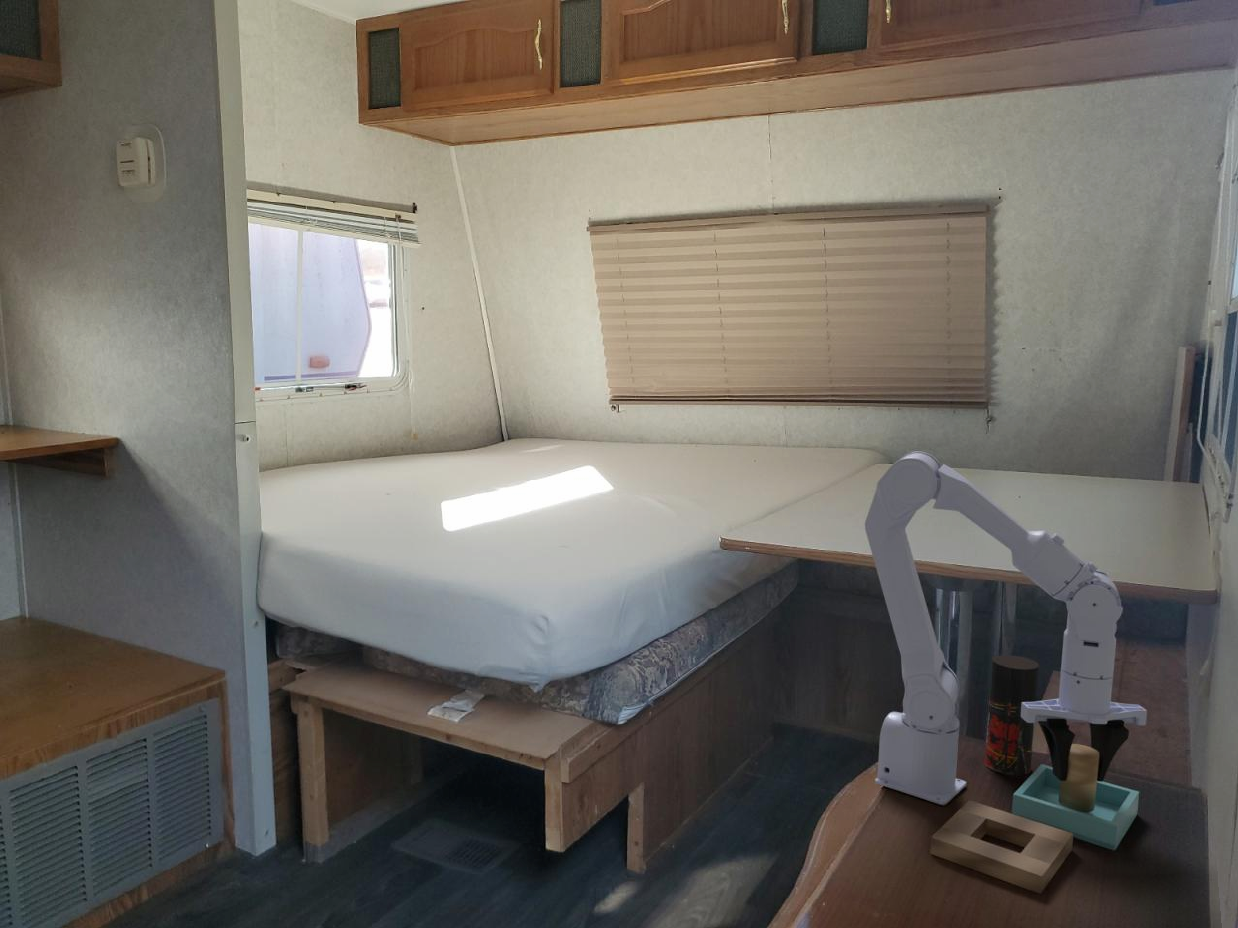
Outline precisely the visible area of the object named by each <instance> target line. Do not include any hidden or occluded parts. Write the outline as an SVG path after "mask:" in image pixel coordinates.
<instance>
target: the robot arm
mask: <svg viewBox="0 0 1238 928" xmlns="http://www.w3.org/2000/svg"><path fill="white" fill-rule="evenodd" d="M931 500H935V502H934V504H933V506H932V509H936V510H945V511H954V512H955V511H956V512H959V513H960V514H961V515H963V517H966V518H967V519H968V520H969V521H971V522H972V523H973V524H975V525H976V526H977V527H978V528H979V527H980V528H981V530H983V531H984V532H986V533H987V534H989V535H990V536H991V537H992V538H993V539H995V540H996V541H998V542H999V543H1000V544H1002V545H1003V546H1005V547H1006V548H1007V549H1008V550H1009V551H1010V552H1011V562H1012V565H1013V567H1015V568H1016V569H1017V570H1018V571H1019V572H1021V573H1022V574H1023V575H1025V576H1026V577H1027V579H1030V580H1031V581H1032V582H1033V583H1034V584H1035V585H1037V586H1038V587H1040V589H1042V590H1043V591H1044V592H1045V593H1047V594H1048V595H1049V596H1050V597H1052V598H1053V599H1054V600H1057V601H1062V602H1063V603H1065V604H1066V610H1067V619H1066V620H1067V621H1066V629H1065V630H1064V631H1063V641H1062V642H1063V643H1062V652H1061V653H1062V654H1061V664H1060V665H1061V667H1060V676H1059V677H1060V678H1059V691H1058V698H1053V699H1045V700H1036V702H1022V704H1021V717H1022V718H1023V719H1024V720H1025V721H1026V722H1027V723H1034V724H1035V723H1036V722H1037V723H1038V725H1039V727H1040V729H1041V731H1042V734H1043V736H1044V739H1045V741H1046V746H1047V748H1048V751H1049V752H1048V753H1049V756H1050V760H1051V767H1052V768H1053V774H1054V775H1055V776H1056V777H1057V778H1058V779H1059V780H1060V781H1066V778H1067V774H1068V760H1069V754H1070V749H1071V745H1072V744H1073V742H1074V739H1075V736H1076V735H1075V733H1074V732H1073V731H1072V730H1070V729H1069V728H1070V725H1069V724H1067V723H1068V722H1069V723H1070V722H1072V723H1073V722H1074V723H1089V729H1090V747H1091V748H1093V749H1095V750H1097V751H1098V752H1099V765H1098V775H1097V781H1098V782H1104V779H1105V777H1106V775H1107V772H1108V770H1109V767H1110V765H1111V763H1112V761H1113V759H1114V757H1115V756H1116V754H1117V753H1118V751H1119V749H1120V748H1121V747H1122V746H1123V745H1124V744H1125V742H1126V741H1127V740H1128V739H1129V735H1130V731H1129V729H1128V728H1126V727H1125V724H1135V725H1136V726H1146V725H1147V716H1148V710H1147V709H1145V708H1144V707H1143V706H1141V705H1140V704H1132V703H1121V702H1114V701H1112V690H1113V680H1114V671H1115V658H1116V647H1117V638H1116V632H1117V628H1118V626H1117V622H1118V620H1119V619H1120V618H1121V615H1122V614H1123V611H1124V608H1123V606H1122V600H1121V597H1120V594H1119V591H1118V587H1117V586H1116V584H1115V583H1114V581H1113V580H1112V579H1111V578H1110V577H1108V575H1107V573H1106V572H1105V571H1103V570H1099V569H1098V566H1097V565H1096V564H1095V563H1093V562H1092V561H1089V562H1085V561H1084V560H1083V559H1082V558H1081V557H1079V556H1078V555H1077V554H1075V553H1074V552H1073V551H1072V550H1070V549H1069V548H1068V547H1067V546H1065V545H1064V543H1065V539H1064V538H1063V536H1061V535H1059V534H1058V533H1054V534H1053V535H1052V534H1050V533H1049V532H1048V531H1046V530H1028V529H1027V528H1025V526H1023V525H1022V524H1021V523H1019V522H1018V521H1017V520H1016V519H1015V518H1014V517H1013V516H1011V515H1010V514H1009V513H1008V512H1007V511H1005V510H1004V509H1003V508H1002V507H1001V506H999V505H998V504H997V503H996V502H995V501H994V500H992V499H991V498H990V497H989V496H988V495H986V494H985V493H984V492H983V491H982V490H980V489H979V488H978V487H977V486H976V485H975V484H973V483H972V482H971V481H970V480H968V479H967V478H966V477H964V476H963V475H961V474H960V473H959V472H957V471H956V470H954V469H953V468H952V467H950V466H948V465H947V464H945V463H943V464H942V465H941V463H940V462H939V460H938V458H936V457H935V456H934V455H932V454H930V453H928V452H924V451H911V452H909V453H906V454H904V455H903V456H902V457H900V459H898V460H897V461H894V462H893V464H891V465H890V466H889V467H888V469H887V470H886V471H885V472H884V474H883V475H882V476H881V477H880V479H879V480H878V481H877V483H876V488H875V492H874V495H873V498H872V502H871V503H870V507H869V510H868V514H867V516H866V519H865V522H864V530H865V533H866V537H867V541H868V545H869V547H870V551H871V555H872V558H873V561H874V562H873V563H874V566H875V569H876V572H877V576H878V579H879V582H880V586H881V591H882V594H883V597H884V601H885V604H886V608H887V611H888V614H889V615H888V616H889V617H890V622H891V625H892V626H891V627H892V630H893V634H894V636H895V640H896V644H897V648H898V650H899V653H900V661H901V662H900V663H901V676H902V677H901V678H902V682H903V685H904V695H903V700H902V709H903V710H902V712H898V711H891V712H889V713H888V714H887V715H886V717H885V718H884V720H883V723H882V724H881V725H882V726H881V728H880V734H879V744H878V745H879V748H878V763H877V764H878V766H877V777H876V778H875V780H874V783H875V784H877V785H880V786H883V787H887V788H889V789H892V790H896V791H898V792H901V793H905V794H907V795H910V796H913V797H916V798H919V799H921V800H922V799H923V800H926V801H928V802H932V803H935V804H937V805H941V806H945V805H947V804H948V803H949V802H950V801H951V800H952V799H953V798H954V797H955V796H956V795H958V794H959V793H960V792H961V791H962V790H963V789H964V788H965V787H966V786H967V781H966V780H963V779H961V778H957V766H958V765H957V764H958V753H959V752H958V751H959V750H958V749H959V735H960V734H959V733H960V720H959V719H958V717H957V716H956V715H955V713H956V703H957V700H958V697H959V695H960V689H961V687H960V686H961V685H960V681H959V678H958V676H957V675H956V673H955V672H954V671H953V670H952V669H951V668H950V666H949V664H948V663H947V661H946V658H945V656H944V652H943V651H942V649H941V647H940V646H939V644H938V641H937V637H936V634H935V630H934V627H933V626H934V625H933V623H932V620H931V616H930V612H929V609H928V606H927V602H926V598H925V595H924V591H923V589H922V585H921V581H920V578H919V574H918V570H917V566H916V564H915V559H914V557H913V553H912V550H911V546H910V542H909V540H908V536H907V532H906V530H907V529H906V528H907V526H908V525H909V524H910V522H911V520H912V519H913V517H914V516H915V514H916V513H917V511H919V510H920V509H921V508H923V507H924V506H925V505H926V504H928V503H929V502H930V501H931Z"/></svg>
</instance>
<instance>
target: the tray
mask: <svg viewBox="0 0 1238 928" xmlns="http://www.w3.org/2000/svg"><path fill="white" fill-rule="evenodd" d="M1059 790H1060V780H1059V779H1058V778H1057V777H1056V776H1055V775H1054V774H1053V768H1052V766H1049V765H1046V764H1043V763H1041V764H1040V765H1039V766H1038V767H1037V769H1035V771H1034V772H1032V774H1031V775H1030V776H1029V777H1028V778H1026V780H1025V781H1024V782H1023V783H1022V785H1021V786H1020V787H1019V788H1018V789H1017V790H1016V791H1015V792H1014V793H1013V795H1012V805H1011V807H1012V808H1011V814H1014V815H1017V816H1020V817H1023V818H1026V819H1029V820H1033V821H1036V822H1039V823H1042V824H1045V825H1048V826H1051V827H1054V828H1057V829H1061V830H1064V831H1067V832H1070V833H1073V839H1074V838H1075V839H1077V840H1081V841H1084V842H1087V843H1090V844H1093V845H1096V846H1099V847H1103V848H1106V849H1109V850H1111V851H1114V852H1115V851H1116V850H1117V848H1118V847H1119V845H1120V844H1121V841H1122V840H1123V838H1124V837H1125V835H1126V833H1127V832H1128V830H1129V829H1130V827H1131V825H1132V824H1133V822H1134V820H1135V819H1136V817H1137V815H1138V812H1139V811H1138V809H1139V798H1140V797H1139V796H1140V791H1139V790H1135V789H1130V788H1127V787H1124V786H1120V785H1116V784H1113V783H1111V782H1106V781H1103V782H1098V781H1097V786H1096V796H1095V807H1094V810H1093V811H1092V812H1086V813H1085V812H1079V811H1075V810H1072V809H1069V808H1066V807H1063V806H1062V805H1061V804H1060V803H1059Z"/></svg>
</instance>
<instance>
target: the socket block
mask: <svg viewBox="0 0 1238 928" xmlns="http://www.w3.org/2000/svg"><path fill="white" fill-rule="evenodd" d="M985 835H987V836H990V837H993V838H996V839H999V840H1001V841H1005V842H1007V843H1010V844H1012V845H1016V846H1018V847H1021V848H1024V849H1022V851H1020V852H1018V851H1015V850H1011V849H1009V848H1005V847H1002V846H999V845H997V844H993V843H991V842H987V841H985V840H982V838H983V837H984V836H985ZM1073 841H1074V837H1073V833H1070V832H1067V831H1064V830H1061V829H1057V828H1054V827H1051V826H1048V825H1045V824H1042V823H1039V822H1036V821H1033V820H1029V819H1026V818H1023V817H1020V816H1017V815H1014V814H1012V812H1011V813H1010V812H1007V811H1005V810H1001V809H998V808H994V807H992V806H989V805H986V804H982V803H979V802H976V801H974V800H968V801H966V803H964V805H962V807H961V808H959V810H958V811H956V812H955V814H953V816H951V817H950V819H948V820H947V821H946V822H945V823H944V824H943V825H942V826H941V827H940V828H939V829H938V830H937V831H936V832H935V833H933V835H932V836H931V837H930V850H929V851H930V852H929V854H930V855H933V856H936V857H939V858H941V859H944V860H947V861H948V862H949V861H950V862H952V863H955V864H957V865H960V866H963V867H966V868H969V869H971V870H974V871H977V872H978V873H979V872H980V873H982V874H984V875H987V876H991V877H993V878H996V879H999V880H1001V881H1004V882H1005V883H1006V882H1007V883H1010V884H1012V885H1014V886H1017V887H1020V888H1022V889H1025V890H1028V891H1030V892H1034V893H1037V894H1040V895H1041V894H1042V893H1043V892H1044V890H1045V889H1046V887H1047V886H1048V884H1049V883H1050V881H1051V880H1052V878H1053V877H1054V876H1055V875H1056V873H1057V872H1058V871H1059V869H1060V867H1061V866H1062V864H1063V863H1064V862H1065V861H1066V859H1067V858H1068V856H1069V855H1070V853H1071V852H1072V851H1073Z"/></svg>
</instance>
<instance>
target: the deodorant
mask: <svg viewBox="0 0 1238 928" xmlns="http://www.w3.org/2000/svg"><path fill="white" fill-rule="evenodd" d="M1039 667H1040V666H1039V663H1038V662H1037V661H1035V660H1034V659H1030V658H1027V657H1025V656H1024V657H1023V656H1020V655H1019V656H1018V655H1017V656H1016V655H1009V654H1006V655H1005V654H1000V655H995V656H993V657H992V659H991V670H990V672H991V673H990V686H989V687H990V688H989V698H988V699H989V700H988V712H987V713H988V715H987V725H986V729H987V730H986V741H985V753H984V754H985V755H984V756H985V757H984V764H985V766H986V767H987V768H988V769H989V770H991V771H993V772H995V773H999V774H1002V775H1005V776H1011V777H1012V776H1013V777H1015V776H1016V777H1022V776H1023V777H1024V776H1026V775H1028V774H1030V773H1031V771H1032V760H1033V759H1032V758H1033V747H1034V746H1033V745H1034V731H1035V723H1027V722H1026V721H1025V720H1024V719H1023V718H1022V717H1021V704H1022V702H1036V701H1037V692H1038V681H1039V680H1038V678H1039Z"/></svg>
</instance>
